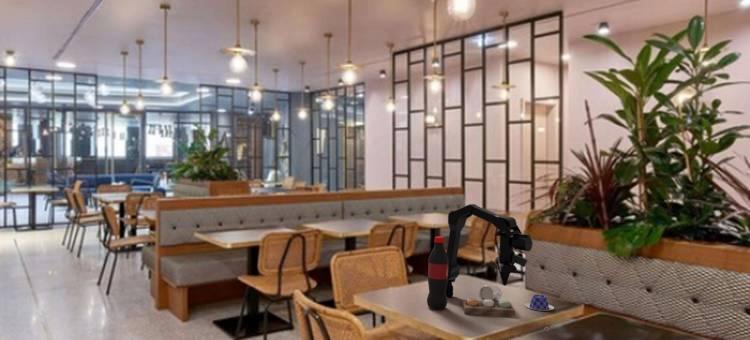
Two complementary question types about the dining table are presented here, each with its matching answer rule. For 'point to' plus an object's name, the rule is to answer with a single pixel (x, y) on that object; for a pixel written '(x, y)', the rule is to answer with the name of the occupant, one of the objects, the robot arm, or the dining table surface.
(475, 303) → the brown rounded piece
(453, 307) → the dining table surface
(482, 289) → the beer glass
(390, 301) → the dining table surface
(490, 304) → the cream button
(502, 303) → the green button
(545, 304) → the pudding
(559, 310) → the dining table surface
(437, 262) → the cola bottle
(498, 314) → the button panel
